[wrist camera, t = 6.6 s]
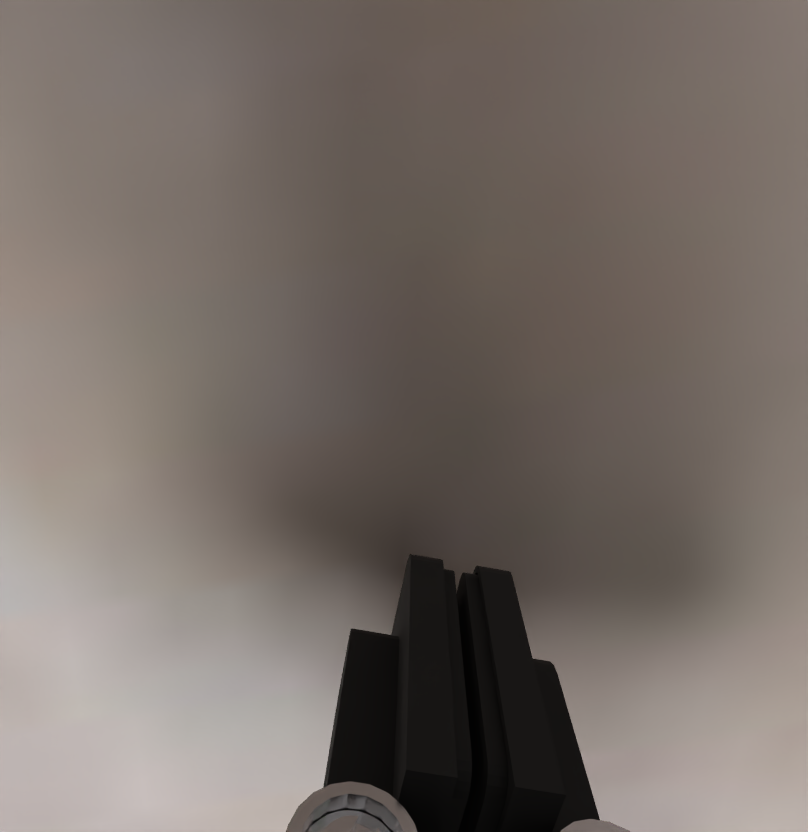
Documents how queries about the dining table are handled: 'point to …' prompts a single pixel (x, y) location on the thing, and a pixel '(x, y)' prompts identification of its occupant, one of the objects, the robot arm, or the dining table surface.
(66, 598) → the dining table surface
